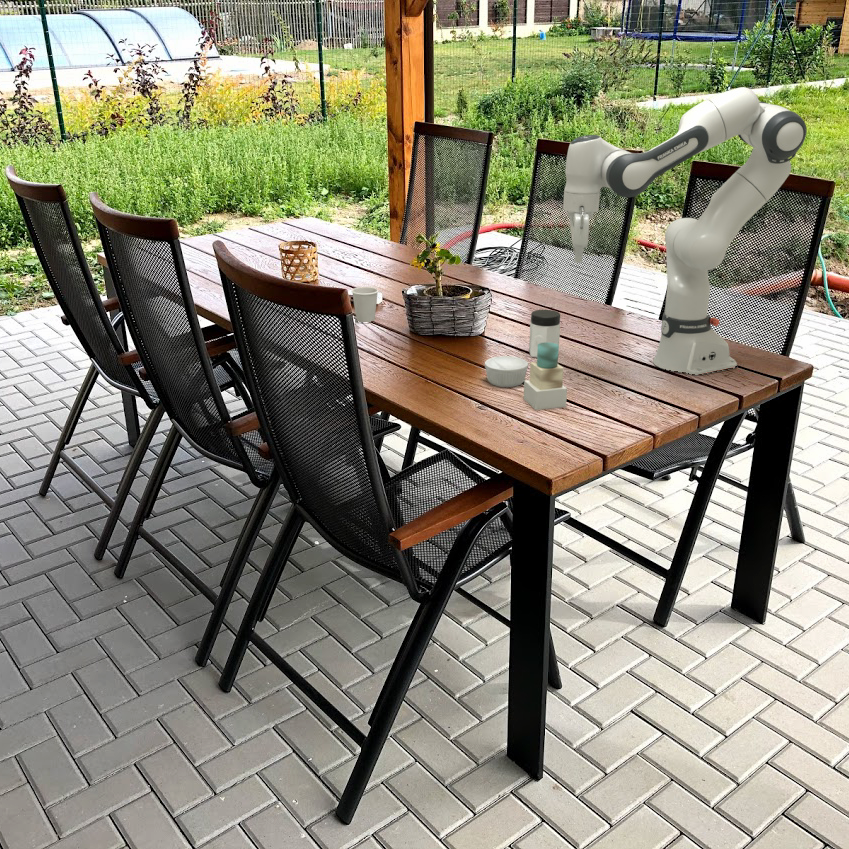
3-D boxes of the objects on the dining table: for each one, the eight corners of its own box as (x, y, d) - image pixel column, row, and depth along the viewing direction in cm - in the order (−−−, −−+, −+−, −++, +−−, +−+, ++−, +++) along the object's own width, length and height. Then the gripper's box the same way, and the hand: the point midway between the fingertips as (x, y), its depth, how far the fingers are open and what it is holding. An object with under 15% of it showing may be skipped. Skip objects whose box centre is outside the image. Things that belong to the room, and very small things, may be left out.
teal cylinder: (552, 361, 228) (553, 341, 226) (560, 367, 223) (562, 347, 221) (533, 362, 226) (534, 343, 224) (541, 369, 222) (543, 349, 220)
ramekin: (475, 382, 242) (476, 363, 239) (499, 371, 250) (500, 352, 248) (512, 392, 235) (513, 372, 233) (535, 380, 243) (536, 361, 241)
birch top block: (551, 379, 230) (552, 360, 228) (562, 387, 225) (563, 367, 223) (529, 381, 228) (530, 362, 227) (539, 389, 223) (540, 370, 221)
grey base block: (553, 396, 233) (554, 377, 231) (565, 407, 226) (567, 388, 224) (523, 399, 231) (524, 380, 229) (535, 410, 224) (536, 391, 222)
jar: (523, 355, 262) (525, 314, 257) (534, 347, 268) (536, 307, 263) (552, 360, 258) (555, 319, 253) (563, 352, 264) (566, 312, 259)
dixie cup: (377, 324, 288) (377, 293, 285) (351, 324, 289) (350, 293, 285) (379, 317, 296) (379, 286, 292) (353, 317, 296) (352, 286, 292)
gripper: (596, 210, 221) (591, 267, 227) (591, 196, 240) (588, 249, 246) (569, 210, 222) (565, 266, 227) (567, 196, 241) (564, 249, 246)
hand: (577, 257), depth 237 cm, fingers open, 8 cm apart
